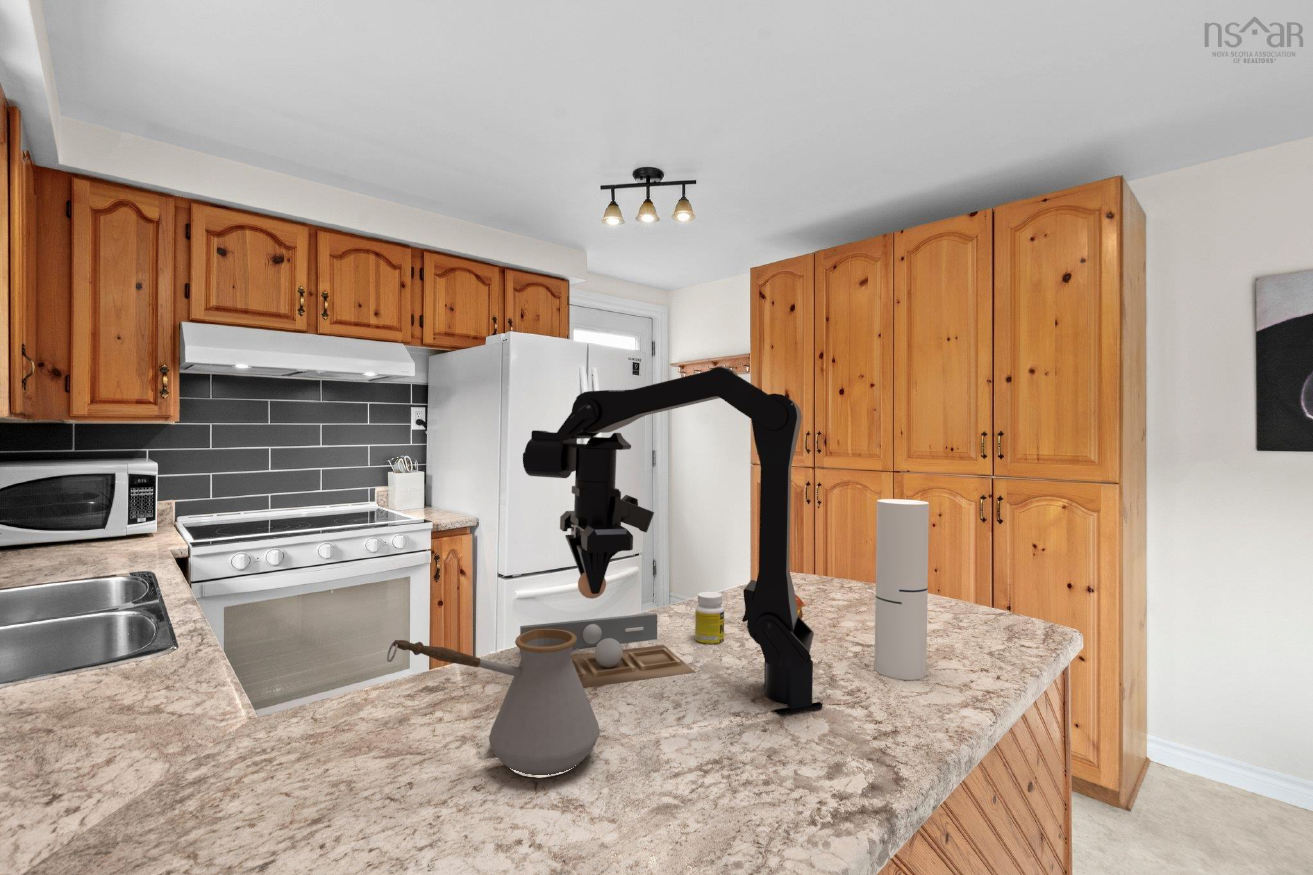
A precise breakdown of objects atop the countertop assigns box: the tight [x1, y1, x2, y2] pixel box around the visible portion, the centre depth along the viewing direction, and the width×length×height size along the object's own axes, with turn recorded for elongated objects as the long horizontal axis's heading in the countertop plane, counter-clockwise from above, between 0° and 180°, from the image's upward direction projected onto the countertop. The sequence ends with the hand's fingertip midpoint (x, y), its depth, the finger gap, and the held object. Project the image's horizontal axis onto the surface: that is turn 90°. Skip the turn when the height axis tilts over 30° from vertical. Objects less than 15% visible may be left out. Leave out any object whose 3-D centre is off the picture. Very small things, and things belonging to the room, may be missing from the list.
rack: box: [570, 644, 697, 689], centre depth 90 cm, size 12×22×2 cm, turn 111°
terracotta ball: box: [577, 572, 607, 600], centre depth 89 cm, size 4×4×4 cm
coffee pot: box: [386, 629, 600, 775], centre depth 64 cm, size 21×12×15 cm, turn 120°
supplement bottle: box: [694, 591, 725, 646], centre depth 102 cm, size 5×5×8 cm
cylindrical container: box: [874, 498, 930, 681], centre depth 93 cm, size 7×7×25 cm
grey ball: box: [594, 638, 623, 668], centre depth 90 cm, size 4×4×4 cm
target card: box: [519, 612, 658, 655], centre depth 99 cm, size 1×22×5 cm, turn 112°
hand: (591, 589), depth 89 cm, fingers closed on terracotta ball, 4 cm apart
